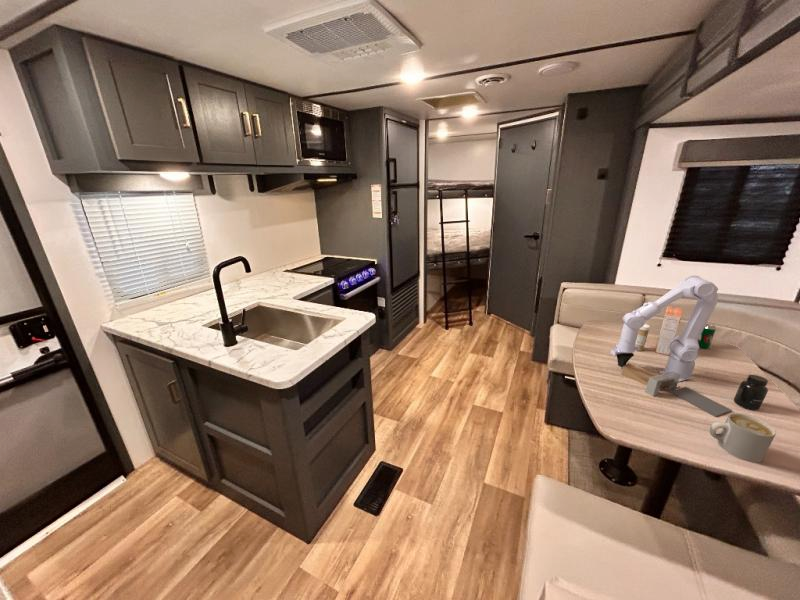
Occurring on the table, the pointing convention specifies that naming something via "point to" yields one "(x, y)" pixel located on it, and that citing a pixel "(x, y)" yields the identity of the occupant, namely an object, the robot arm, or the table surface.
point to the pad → (701, 401)
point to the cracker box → (668, 330)
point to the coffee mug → (744, 436)
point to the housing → (655, 382)
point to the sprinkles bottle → (642, 336)
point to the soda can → (706, 336)
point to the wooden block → (638, 374)
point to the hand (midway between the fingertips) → (620, 366)
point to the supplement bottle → (751, 392)
